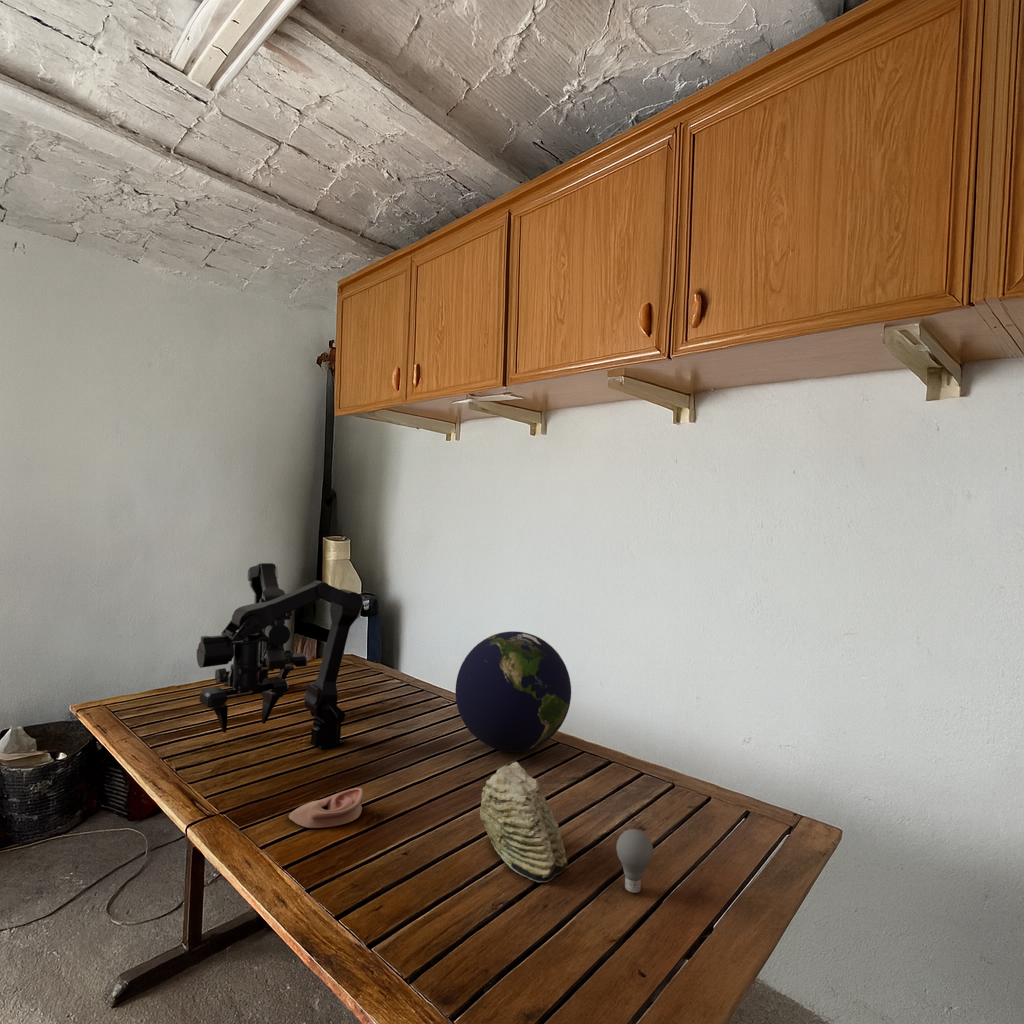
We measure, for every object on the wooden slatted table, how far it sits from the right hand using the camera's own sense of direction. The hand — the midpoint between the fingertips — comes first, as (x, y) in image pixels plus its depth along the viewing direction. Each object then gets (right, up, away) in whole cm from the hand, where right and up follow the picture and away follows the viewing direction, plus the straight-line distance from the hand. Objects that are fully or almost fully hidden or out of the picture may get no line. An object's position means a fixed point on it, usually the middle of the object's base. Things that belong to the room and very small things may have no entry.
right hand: (244, 727), depth 148 cm
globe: (+62, -11, +16) cm, 65 cm away
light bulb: (+83, -13, -42) cm, 94 cm away
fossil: (+64, -12, -34) cm, 73 cm away
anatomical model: (+26, -10, -22) cm, 35 cm away
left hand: (-7, -1, +34) cm, 35 cm away
